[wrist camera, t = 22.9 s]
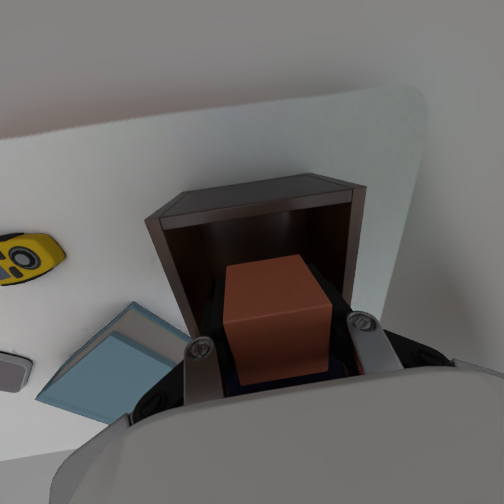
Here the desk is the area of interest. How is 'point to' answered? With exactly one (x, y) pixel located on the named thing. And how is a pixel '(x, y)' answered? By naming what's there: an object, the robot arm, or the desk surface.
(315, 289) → the block
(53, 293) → the desk surface
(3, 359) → the smartphone
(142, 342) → the book
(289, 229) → the chest
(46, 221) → the desk surface
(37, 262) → the yellow plastic handheld
